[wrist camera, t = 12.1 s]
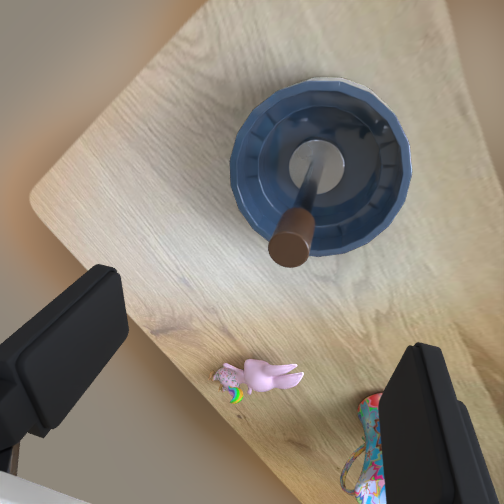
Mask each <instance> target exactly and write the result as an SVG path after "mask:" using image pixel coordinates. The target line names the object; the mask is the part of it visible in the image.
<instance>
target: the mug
mask: <svg viewBox="0 0 504 504" xmlns="http://www.w3.org/2000/svg"><path fill="white" fill-rule="evenodd" d="M381 395H382V393H378V394H374V395H371V396H369V397H367V398H365V399H364V400H363V401H362V402H361V403H360V404H359V407H358V417H359V419H360V421H361V423H362V425H363V428H364V432H365V437H364V436H362V439H363V440H364V441H365V443H364V444H363V445H362V446H360V447H359V448H358V449H357V450H356V451H355V452H354V453H353V454H352V455H351V456H350V457H349V459H348V460H347V462H346V464H345V465H344V468H343V470H342V473H341V477H340V485H341V487H342V489H343V491H344V492H346V493H347V494H349V495H352V496H355V497H356V500H357V501H358V503H359V504H386V492H385V481H384V470H383V459H382V448H381V436H380V425H379V414H378V404H379V400H380V397H381ZM365 450H366V452H365V460H364V465H363V468H362V472H361V475H360V477H359V480H358V482H357V484H356V486H355V489H354V490H348V489H346V487H345V478H346V475H347V472H348V470H349V468H350V466H351V465H352V463H353V462H354V460H355V459H356V458H357V457H358V456H359V455H360V454H361V453H362V452H363V451H365Z"/></svg>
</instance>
